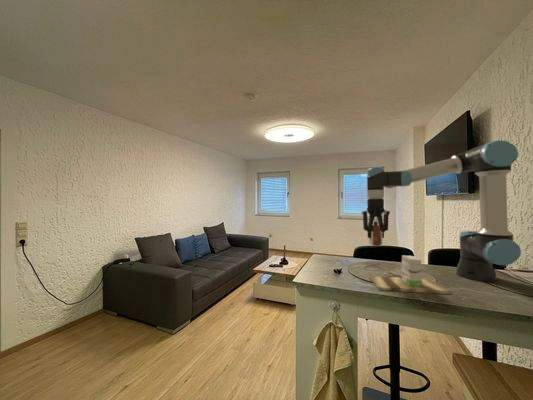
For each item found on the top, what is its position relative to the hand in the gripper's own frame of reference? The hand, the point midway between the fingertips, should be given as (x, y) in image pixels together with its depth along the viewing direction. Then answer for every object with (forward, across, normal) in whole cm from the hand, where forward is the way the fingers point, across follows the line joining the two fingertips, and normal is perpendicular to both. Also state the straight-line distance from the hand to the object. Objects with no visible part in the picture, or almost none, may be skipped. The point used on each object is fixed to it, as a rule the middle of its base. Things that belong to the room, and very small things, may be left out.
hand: (375, 244), depth 115 cm
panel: (+17, -8, +12) cm, 22 cm away
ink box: (+16, -10, +12) cm, 22 cm away
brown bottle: (0, 0, 0) cm, 0 cm away
